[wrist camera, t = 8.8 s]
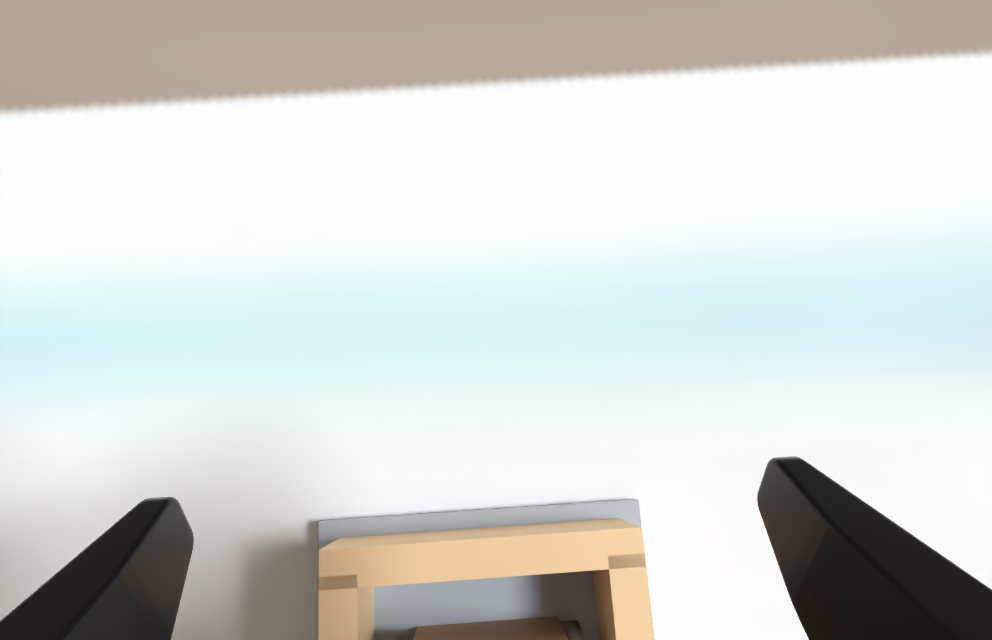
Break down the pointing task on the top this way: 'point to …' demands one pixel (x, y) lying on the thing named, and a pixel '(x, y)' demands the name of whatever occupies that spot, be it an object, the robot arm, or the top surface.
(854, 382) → the top surface
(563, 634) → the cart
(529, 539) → the dock
